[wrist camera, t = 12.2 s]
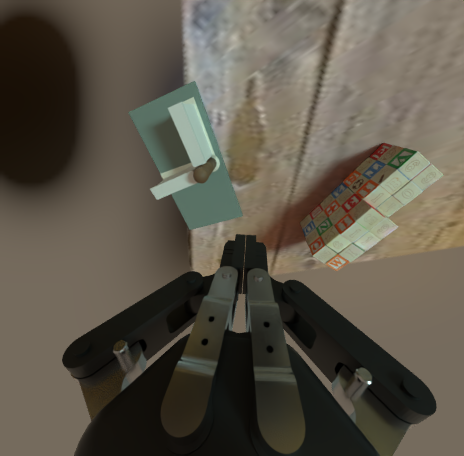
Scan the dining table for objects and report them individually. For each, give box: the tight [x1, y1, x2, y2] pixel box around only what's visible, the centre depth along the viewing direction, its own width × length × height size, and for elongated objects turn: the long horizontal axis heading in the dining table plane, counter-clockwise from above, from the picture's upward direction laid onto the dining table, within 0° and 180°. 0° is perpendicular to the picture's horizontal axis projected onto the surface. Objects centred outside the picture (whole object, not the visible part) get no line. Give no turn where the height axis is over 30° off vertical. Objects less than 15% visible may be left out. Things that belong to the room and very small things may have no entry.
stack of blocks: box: [300, 143, 443, 271], centre depth 36 cm, size 21×6×12 cm, turn 147°
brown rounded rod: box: [193, 157, 217, 184], centre depth 36 cm, size 3×3×10 cm
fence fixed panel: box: [168, 102, 213, 167], centre depth 34 cm, size 9×2×7 cm, turn 19°
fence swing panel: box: [150, 165, 200, 200], centre depth 38 cm, size 9×2×7 cm, turn 113°
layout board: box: [129, 81, 243, 230], centre depth 41 cm, size 27×14×1 cm, turn 19°
